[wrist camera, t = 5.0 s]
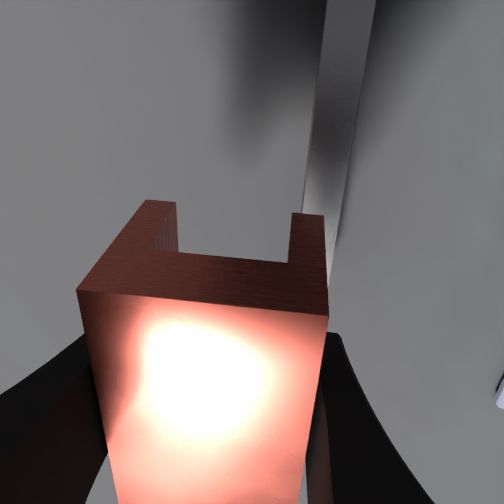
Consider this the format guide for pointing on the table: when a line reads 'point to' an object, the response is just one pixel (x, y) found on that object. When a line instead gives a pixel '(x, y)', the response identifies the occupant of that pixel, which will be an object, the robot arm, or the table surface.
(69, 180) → the table surface
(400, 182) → the table surface
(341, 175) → the coupler
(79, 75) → the table surface
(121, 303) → the red notched block
